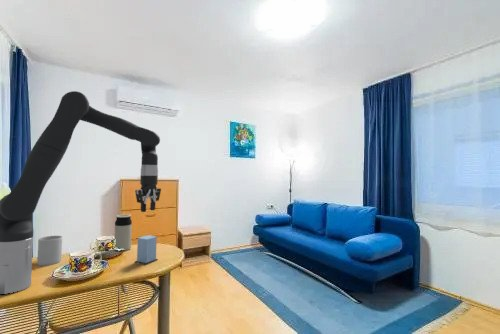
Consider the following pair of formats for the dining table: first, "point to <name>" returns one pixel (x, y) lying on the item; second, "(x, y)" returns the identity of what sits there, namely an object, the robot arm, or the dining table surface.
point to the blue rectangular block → (146, 248)
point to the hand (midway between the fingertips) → (148, 210)
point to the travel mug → (123, 231)
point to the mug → (49, 250)
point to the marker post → (145, 263)
